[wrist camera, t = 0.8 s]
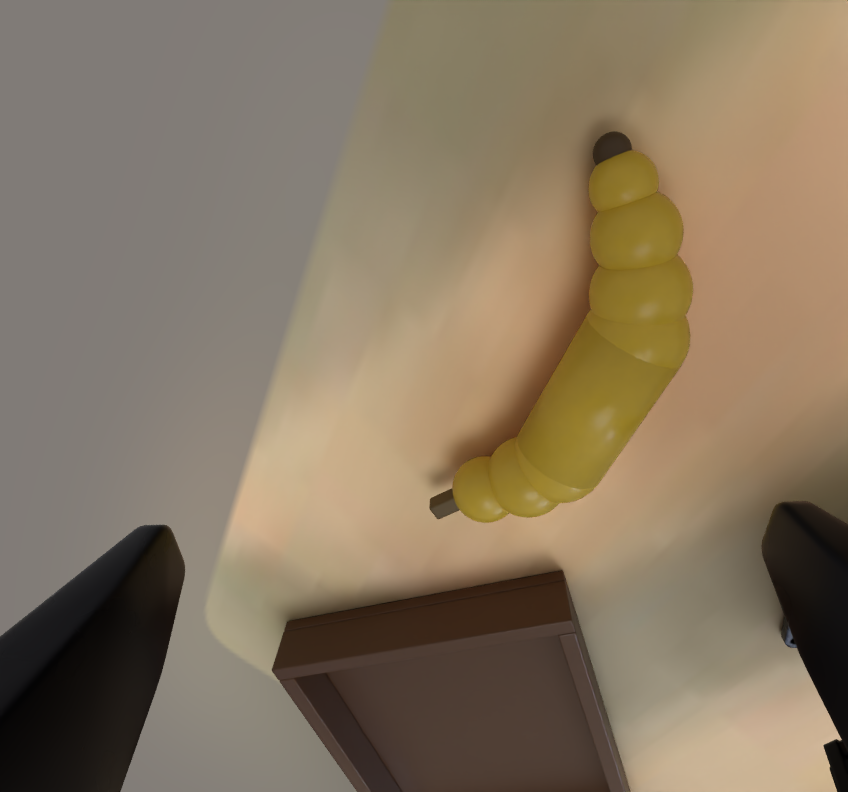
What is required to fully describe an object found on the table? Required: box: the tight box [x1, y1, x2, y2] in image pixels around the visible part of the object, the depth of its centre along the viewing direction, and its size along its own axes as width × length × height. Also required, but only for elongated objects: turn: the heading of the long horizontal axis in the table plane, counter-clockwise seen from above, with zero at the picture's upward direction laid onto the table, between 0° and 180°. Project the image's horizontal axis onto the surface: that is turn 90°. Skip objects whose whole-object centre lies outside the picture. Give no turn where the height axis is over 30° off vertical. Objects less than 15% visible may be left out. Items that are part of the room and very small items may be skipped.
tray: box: [272, 571, 631, 792], centre depth 32 cm, size 21×14×3 cm
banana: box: [429, 132, 693, 523], centre depth 21 cm, size 15×6×3 cm, turn 159°
